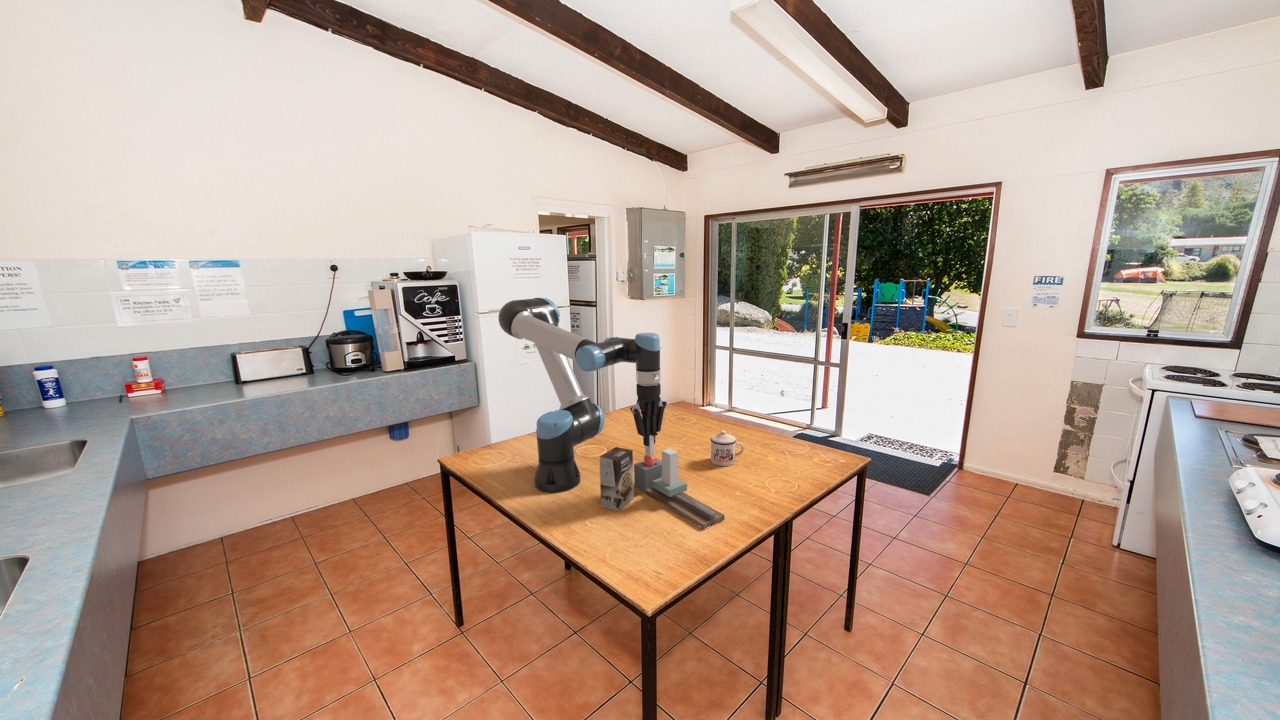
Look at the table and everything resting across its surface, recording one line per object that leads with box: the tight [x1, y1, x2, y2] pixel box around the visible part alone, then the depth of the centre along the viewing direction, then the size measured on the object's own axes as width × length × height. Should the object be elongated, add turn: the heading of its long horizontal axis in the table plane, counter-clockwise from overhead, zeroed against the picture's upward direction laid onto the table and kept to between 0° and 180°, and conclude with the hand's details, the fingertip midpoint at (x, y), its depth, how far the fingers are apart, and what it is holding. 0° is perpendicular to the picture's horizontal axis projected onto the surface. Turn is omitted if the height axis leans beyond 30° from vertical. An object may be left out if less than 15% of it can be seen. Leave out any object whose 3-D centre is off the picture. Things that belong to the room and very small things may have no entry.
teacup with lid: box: [710, 430, 745, 467], centre depth 169 cm, size 12×9×12 cm
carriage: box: [653, 447, 688, 497], centre depth 142 cm, size 7×8×12 cm
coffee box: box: [599, 446, 634, 512], centre depth 140 cm, size 9×6×16 cm
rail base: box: [645, 487, 725, 530], centre depth 139 cm, size 8×26×3 cm, turn 37°
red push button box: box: [633, 458, 662, 495], centre depth 151 cm, size 8×6×8 cm
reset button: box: [643, 454, 656, 468], centre depth 150 cm, size 3×3×5 cm
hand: (649, 454), depth 149 cm, fingers closed
